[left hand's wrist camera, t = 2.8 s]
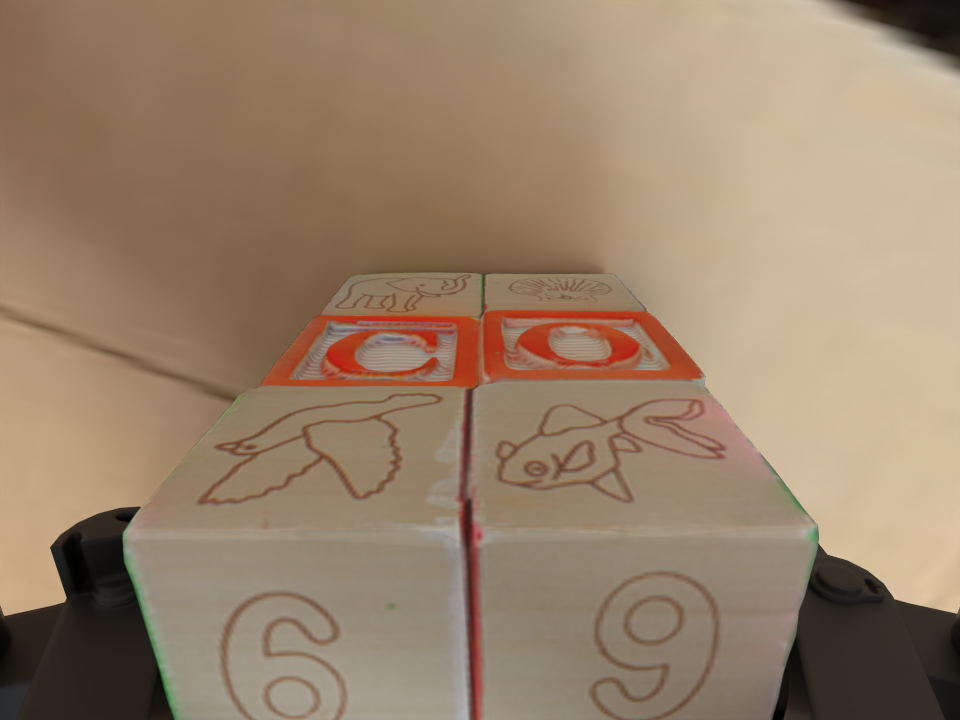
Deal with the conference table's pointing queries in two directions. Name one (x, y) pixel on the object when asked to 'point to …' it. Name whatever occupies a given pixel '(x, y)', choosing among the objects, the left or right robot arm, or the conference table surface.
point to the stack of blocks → (474, 521)
